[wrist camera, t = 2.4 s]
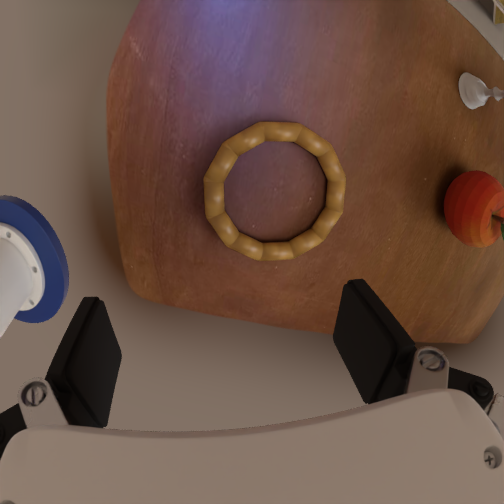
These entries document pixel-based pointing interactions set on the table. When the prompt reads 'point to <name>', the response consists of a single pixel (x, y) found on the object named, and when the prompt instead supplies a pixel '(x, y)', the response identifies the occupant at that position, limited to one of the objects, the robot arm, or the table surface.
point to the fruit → (475, 208)
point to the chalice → (476, 91)
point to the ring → (248, 141)
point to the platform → (485, 19)
